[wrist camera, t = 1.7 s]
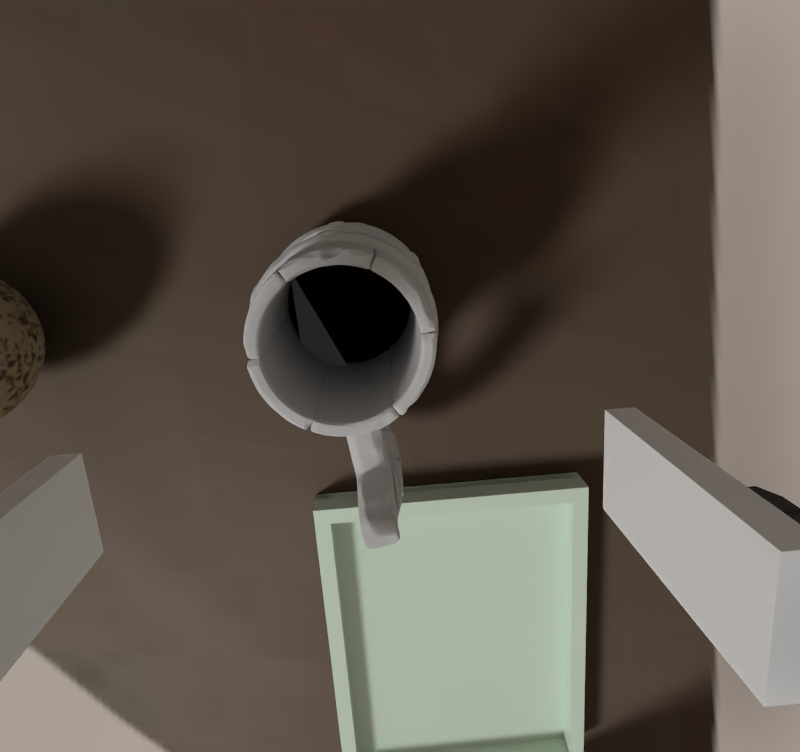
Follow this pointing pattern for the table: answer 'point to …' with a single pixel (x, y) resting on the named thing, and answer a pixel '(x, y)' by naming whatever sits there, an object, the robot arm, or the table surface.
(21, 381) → the decorative egg
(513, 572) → the tray
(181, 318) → the table surface
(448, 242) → the table surface
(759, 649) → the robot arm
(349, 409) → the mug
